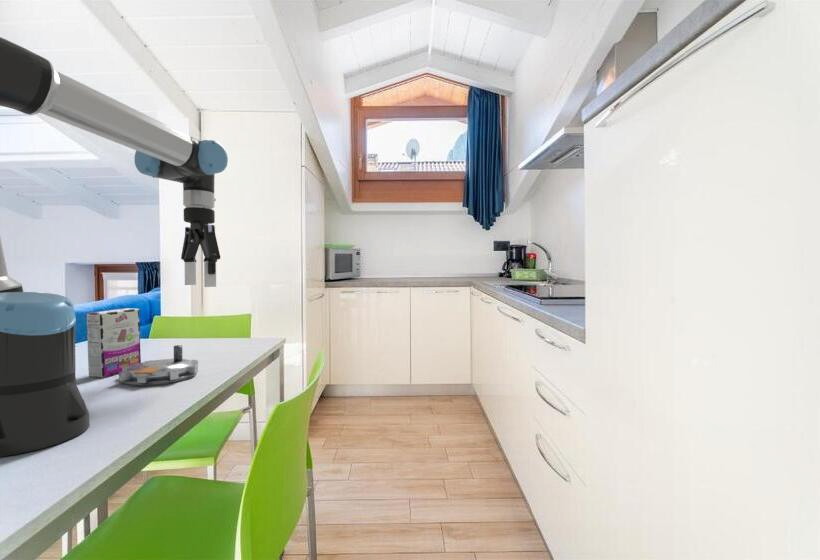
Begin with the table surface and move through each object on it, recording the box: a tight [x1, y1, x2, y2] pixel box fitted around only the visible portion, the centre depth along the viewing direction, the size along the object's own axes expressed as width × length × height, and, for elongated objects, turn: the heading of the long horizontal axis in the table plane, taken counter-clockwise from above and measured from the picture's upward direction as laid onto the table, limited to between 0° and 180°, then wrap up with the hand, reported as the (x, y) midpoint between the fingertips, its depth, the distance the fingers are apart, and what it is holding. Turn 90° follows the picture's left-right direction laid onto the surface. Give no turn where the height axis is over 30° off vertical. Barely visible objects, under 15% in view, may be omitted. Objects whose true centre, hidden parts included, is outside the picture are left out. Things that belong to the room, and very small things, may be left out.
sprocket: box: [118, 344, 199, 383], centre depth 101 cm, size 17×17×6 cm
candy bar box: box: [85, 307, 142, 379], centre depth 105 cm, size 11×5×16 cm, turn 168°
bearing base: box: [121, 372, 198, 387], centre depth 101 cm, size 16×16×1 cm
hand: (199, 286), depth 109 cm, fingers open, 13 cm apart
